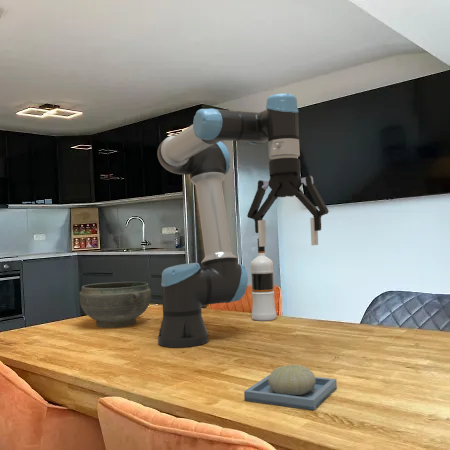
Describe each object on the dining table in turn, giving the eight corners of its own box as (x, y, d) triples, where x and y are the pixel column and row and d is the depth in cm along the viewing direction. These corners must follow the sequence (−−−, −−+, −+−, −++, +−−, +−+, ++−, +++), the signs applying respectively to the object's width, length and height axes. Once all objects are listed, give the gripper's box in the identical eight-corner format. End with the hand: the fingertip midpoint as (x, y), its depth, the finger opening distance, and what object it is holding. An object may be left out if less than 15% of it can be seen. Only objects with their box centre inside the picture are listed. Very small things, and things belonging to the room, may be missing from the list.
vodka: (263, 322, 180) (259, 238, 181) (246, 319, 187) (243, 238, 188) (282, 318, 186) (278, 237, 186) (265, 316, 193) (261, 237, 194)
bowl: (170, 323, 185) (168, 282, 186) (106, 335, 168) (105, 290, 168) (124, 315, 209) (123, 279, 209) (64, 324, 192) (63, 285, 192)
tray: (244, 400, 98) (244, 391, 98) (273, 380, 110) (273, 372, 110) (313, 410, 91) (313, 400, 91) (336, 387, 103) (336, 379, 103)
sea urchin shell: (260, 376, 104) (285, 347, 105) (287, 401, 105) (313, 372, 106) (268, 389, 95) (296, 357, 96) (298, 417, 96) (326, 385, 96)
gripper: (232, 162, 126) (235, 247, 126) (329, 151, 114) (333, 245, 114) (245, 165, 133) (249, 246, 132) (339, 154, 120) (342, 243, 120)
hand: (288, 245), depth 123 cm, fingers open, 13 cm apart
